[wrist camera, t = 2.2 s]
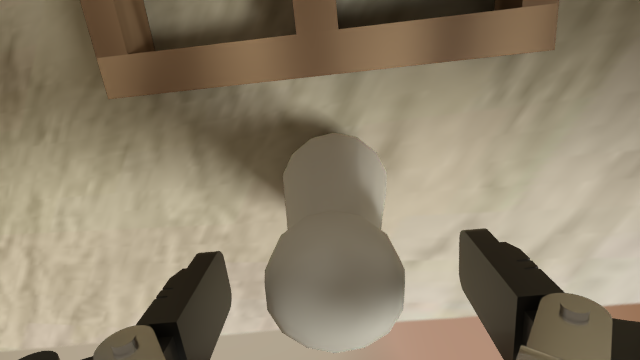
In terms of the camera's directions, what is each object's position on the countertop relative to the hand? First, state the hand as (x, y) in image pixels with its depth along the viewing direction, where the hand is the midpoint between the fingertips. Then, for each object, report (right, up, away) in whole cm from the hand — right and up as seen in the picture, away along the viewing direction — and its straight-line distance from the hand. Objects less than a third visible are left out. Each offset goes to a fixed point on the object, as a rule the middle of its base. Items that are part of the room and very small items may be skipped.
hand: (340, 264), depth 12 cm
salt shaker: (0, +3, +10) cm, 11 cm away
